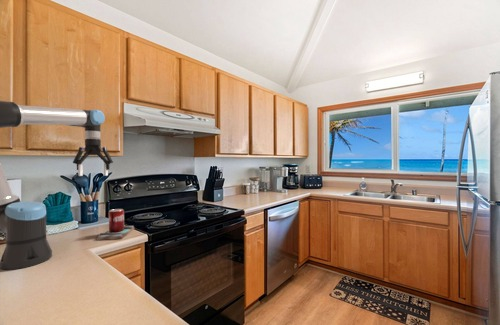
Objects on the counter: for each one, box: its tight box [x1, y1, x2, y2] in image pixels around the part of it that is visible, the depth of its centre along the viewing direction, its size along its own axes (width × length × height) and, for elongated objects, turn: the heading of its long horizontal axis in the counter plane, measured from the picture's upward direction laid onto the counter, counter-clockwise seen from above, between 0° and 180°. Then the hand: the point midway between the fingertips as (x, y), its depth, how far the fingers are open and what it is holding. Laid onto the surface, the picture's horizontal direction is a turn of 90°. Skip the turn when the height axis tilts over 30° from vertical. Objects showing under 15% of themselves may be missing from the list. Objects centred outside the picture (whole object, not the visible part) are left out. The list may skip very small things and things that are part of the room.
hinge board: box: [96, 225, 135, 241], centre depth 126 cm, size 12×18×3 cm, turn 8°
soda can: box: [108, 208, 125, 233], centre depth 126 cm, size 7×7×12 cm
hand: (93, 175), depth 133 cm, fingers open, 13 cm apart
